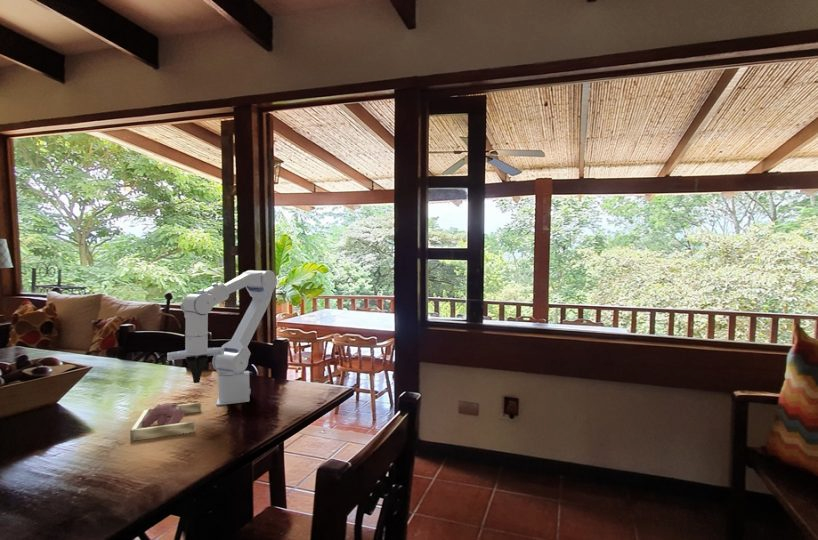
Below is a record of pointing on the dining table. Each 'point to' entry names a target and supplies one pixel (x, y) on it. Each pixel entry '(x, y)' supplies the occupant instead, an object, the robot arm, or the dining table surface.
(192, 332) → the robot arm
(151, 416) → the video game controller
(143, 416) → the bay
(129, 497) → the dining table surface
